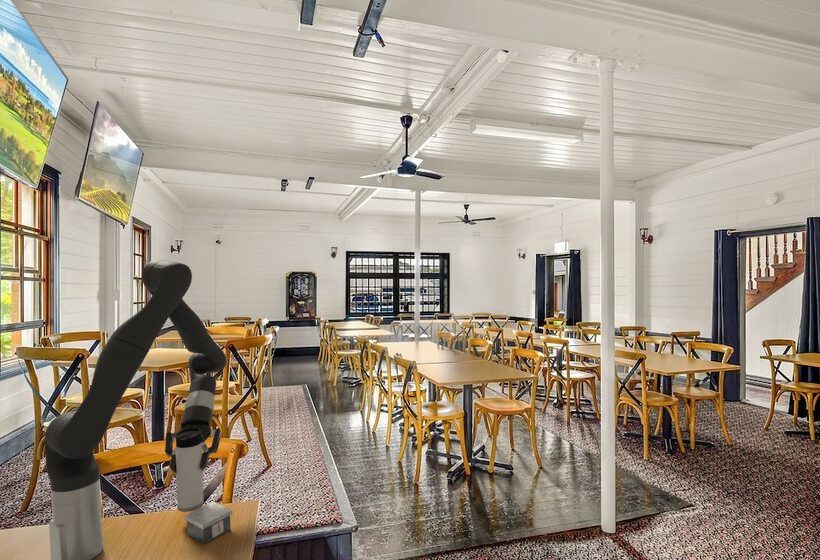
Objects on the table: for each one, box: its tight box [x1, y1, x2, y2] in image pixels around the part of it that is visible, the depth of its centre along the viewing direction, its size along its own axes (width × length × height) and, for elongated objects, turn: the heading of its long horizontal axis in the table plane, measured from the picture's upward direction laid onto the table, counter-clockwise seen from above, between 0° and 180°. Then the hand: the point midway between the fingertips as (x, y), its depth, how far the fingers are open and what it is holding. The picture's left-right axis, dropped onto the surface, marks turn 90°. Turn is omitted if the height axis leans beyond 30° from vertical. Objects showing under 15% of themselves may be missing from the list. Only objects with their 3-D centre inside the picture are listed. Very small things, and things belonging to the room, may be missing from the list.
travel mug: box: [175, 427, 204, 513], centre depth 121 cm, size 6×7×20 cm
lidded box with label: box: [183, 501, 233, 545], centre depth 116 cm, size 8×8×5 cm
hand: (188, 469), depth 119 cm, fingers closed on travel mug, 6 cm apart
